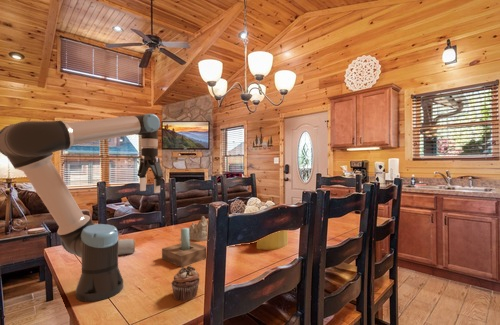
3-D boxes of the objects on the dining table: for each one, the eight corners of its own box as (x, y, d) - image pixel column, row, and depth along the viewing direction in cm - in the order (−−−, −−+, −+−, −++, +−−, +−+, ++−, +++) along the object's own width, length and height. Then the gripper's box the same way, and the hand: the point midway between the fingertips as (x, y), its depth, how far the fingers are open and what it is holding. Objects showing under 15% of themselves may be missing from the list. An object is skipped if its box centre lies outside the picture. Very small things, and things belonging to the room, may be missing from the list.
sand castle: (221, 237, 165) (219, 213, 166) (198, 243, 154) (196, 218, 155) (207, 233, 177) (205, 211, 177) (184, 239, 166) (183, 215, 166)
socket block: (181, 267, 119) (181, 256, 119) (162, 258, 129) (161, 248, 129) (208, 257, 131) (208, 247, 131) (189, 250, 141) (189, 241, 141)
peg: (184, 259, 127) (183, 230, 127) (179, 257, 130) (179, 229, 130) (191, 257, 130) (190, 228, 130) (186, 255, 133) (186, 227, 133)
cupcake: (190, 286, 101) (190, 260, 101) (204, 295, 94) (204, 267, 94) (166, 295, 94) (166, 266, 94) (179, 305, 87) (179, 275, 87)
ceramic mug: (135, 254, 135) (135, 239, 135) (117, 257, 132) (117, 241, 132) (134, 248, 145) (134, 234, 145) (117, 251, 141) (117, 236, 141)
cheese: (240, 248, 144) (240, 221, 144) (246, 235, 170) (246, 212, 170) (288, 250, 141) (288, 222, 141) (287, 236, 167) (287, 212, 167)
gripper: (170, 147, 123) (171, 193, 123) (144, 149, 140) (144, 189, 140) (155, 146, 118) (156, 194, 118) (130, 148, 134) (130, 190, 134)
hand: (149, 191), depth 129 cm, fingers open, 13 cm apart
